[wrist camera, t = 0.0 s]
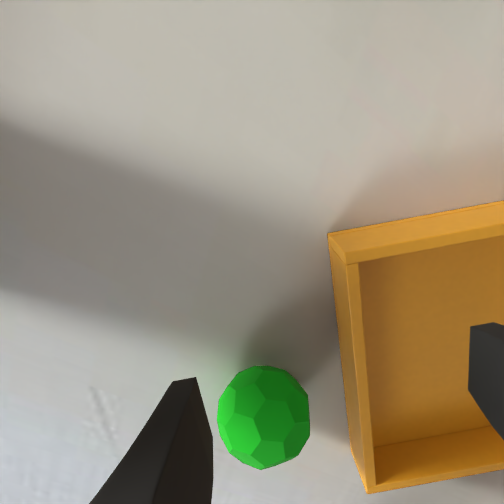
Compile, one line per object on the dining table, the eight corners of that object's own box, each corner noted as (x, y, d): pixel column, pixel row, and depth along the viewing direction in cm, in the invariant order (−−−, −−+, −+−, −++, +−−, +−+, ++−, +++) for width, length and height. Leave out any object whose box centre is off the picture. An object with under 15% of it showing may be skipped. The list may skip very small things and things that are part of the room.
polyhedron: (319, 384, 22) (341, 451, 18) (258, 430, 23) (265, 505, 18) (263, 333, 21) (272, 392, 16) (201, 384, 22) (194, 453, 17)
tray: (594, 406, 24) (643, 444, 21) (350, 451, 24) (367, 494, 21) (637, 175, 19) (710, 184, 16) (326, 232, 19) (344, 252, 16)
